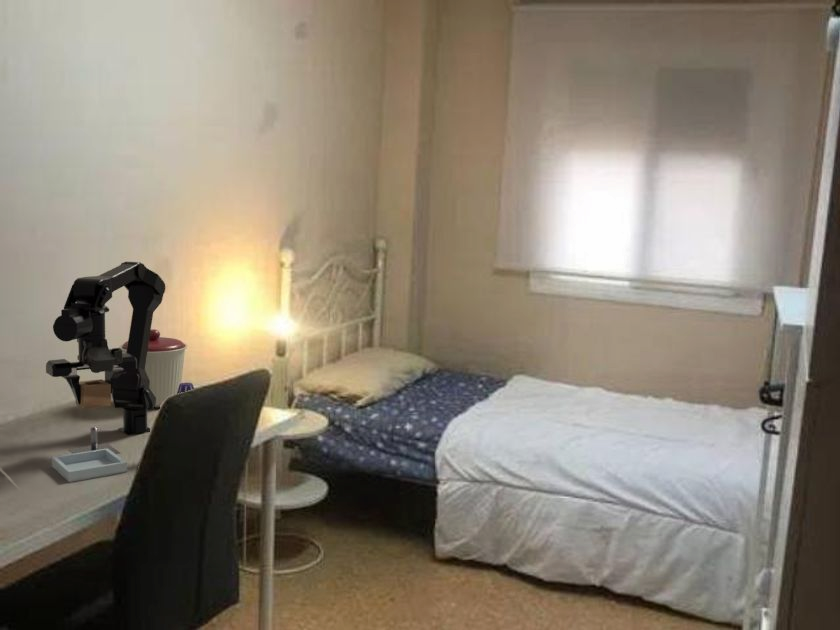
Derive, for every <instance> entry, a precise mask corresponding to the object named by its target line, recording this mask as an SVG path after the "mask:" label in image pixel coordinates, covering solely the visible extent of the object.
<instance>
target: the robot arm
mask: <svg viewBox="0 0 840 630" xmlns="http://www.w3.org/2000/svg"><path fill="white" fill-rule="evenodd" d="M123 287H124V288H125V289H126V290H127V292H128V293H127V294H128V295H127V298H128V300H129V303H130V305H131V307H132V313H131V320H130V325H129V333H128V340H127V341H128V345H127V351H126V353H125V354H122V350H121V348H119V347H113V348H109V346H108V339H106V313H109V311H110V308H109V307H108V306H107V305H106V303H108V302H109V301H110V300H111V299H112V298H113V293H114V292H115V291H118V290H119V289H121V288H123ZM69 290H70V291H69V292H68V295H67V298H66V301H65V303H64V305H63V309H61V310H60V313H61V315H59V316H57V318H56V319H55V320H54V323H53V326H52V329H53V333H54V335H55V337H56V338H57V339H58V340H60V341H62V342H71V341H74V340H76V343H77V345H78V346H77V347H78V355H77V359H76V360H77V361H72V362H70V361H68V360H66V359H65V358H60V359H59V358H58V359H50V360H47V361H46V364H45V373H46V374H47V375H50V376H51V377H52V378H59V377H62V378H63V379H65V380H66V382H67V384H68V386H69V387H70V389H71V393H72V394H73V396H74V399H75V402H76V401H77V403H78V404H80V403H81V396H80V387H79V382H80V378H81V376H80V374H79V375H78V373H77V372H78V371H82V370H84V371H85V370H90V371H91V373H94V374H99V373H101V372H102V373H103V372H104V381H106V382H108V383H109V384H111V398H112V403H113V405H114V409H122V417H123V418H122V420H123V421H122V422H123V424H122V425H123V426H122V427H119V428H118V431H120V432H122V433H123V434H125V435H127V436H132V435H138V434H146V433H151V432H150V429H151V428H150V427H148V410H149V411H150V410H153V409H155V408H154V407H155V404H156V397H155V396H154V394H153V393H152V391H151V390H150V388H149V385H150V380H149V378H148V376H147V373H146V371H145V364H146V357H147V351H148V344H149V338H150V331H151V330H152V323H153V317H154V312H155V311H156V310H157V309H158V307H159V306H160V305H161V304H162V302H163V297H164V294H165V292H166V284H165V281H164V280H163V279H162V278H161V276H160V275H159V274H158V273H157V272H155V271H153V270H151V269H149V268H147V267H146V265H145V264H144V263H142V262H140V261H124V262H121V264H119V265H117V266H116V267H114V268H111V269H109V270H107V271H105V272H103V273H101V274H99V275H93V276H92V275H91V276H82V277H77V278H76V279H75V280H74V281H73V284H72V285H71V288H70V289H69Z"/></svg>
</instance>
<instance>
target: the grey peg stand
mask: <svg viewBox="0 0 840 630" xmlns="http://www.w3.org/2000/svg"><path fill="white" fill-rule="evenodd" d="M98 441H99V440H98V427H96V426H93V427H90V445H88V446H82V447H75V448H70V449H69V448H68V449H67V450H68V451H69V452H70V453H71V454H74V453H81V452H87V451H93V450H100V449H106V448H108V449H109V450H111V451H112V452H113V453H115V454H116V455H120V454H121V452H120V451H119V450H117V449H116V448H115V447H113V446H112V445H110V444H109V443H102V444H98Z"/></svg>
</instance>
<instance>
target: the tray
mask: <svg viewBox="0 0 840 630" xmlns="http://www.w3.org/2000/svg"><path fill="white" fill-rule="evenodd" d="M127 462H128V461H126V460H124V459H123V458H122V457H120V456H119V455H118V454H115V453H113V452H112V451H111V450H109V449H108V448H106V449H100V450H93V451H87V452H81V453H74V454H73V453H68V454H63V455H57V456H56V455H54V456H51V467H52V468H53V469H54V470H55V471H56V473H58V474H59V475H60V476H62V477H63V478H64V479H65V480H66V481H67V482H68V483H72V482H78V481H83V480H89V479H95V478H101V477H107V476H111V475H112V476H113V475H118V474H124V473H128V463H127Z"/></svg>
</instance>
